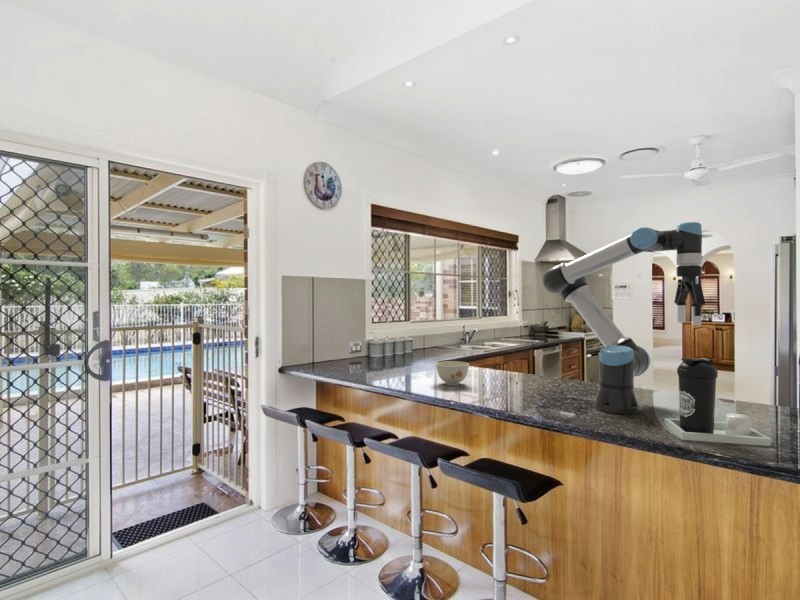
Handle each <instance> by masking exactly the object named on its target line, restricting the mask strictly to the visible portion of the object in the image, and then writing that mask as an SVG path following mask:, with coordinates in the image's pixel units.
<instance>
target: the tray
mask: <svg viewBox="0 0 800 600" xmlns="http://www.w3.org/2000/svg"><path fill="white" fill-rule="evenodd" d="M663 422H664V424H663V425H664V426H665V427H667V428H668V429H669V430H670V431H671V432H672V433H674V434H675V436H677V437H679V438H680V440H682V441H692V442H693V441H694V442H696V441H697V442H709V443H723V444H734V445H736V444H737V445H748V446H749V445H750V446H761V447H771V446H772V439H771V438H770V437H769V436H767V435H765V434H763V433H761V432H759V431H758V430H757V429H755V428H752V427H751V436H738V435H726V421H716V420H714V434H709V433H694V432H685V431H684V430H682V429H681V428H680V418H670V417H669V418H664V419H663Z"/></svg>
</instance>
